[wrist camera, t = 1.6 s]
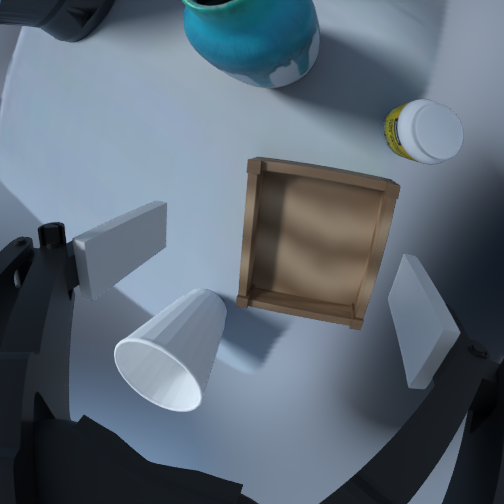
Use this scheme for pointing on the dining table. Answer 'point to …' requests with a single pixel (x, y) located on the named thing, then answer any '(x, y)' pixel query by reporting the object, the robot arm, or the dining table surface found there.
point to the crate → (313, 239)
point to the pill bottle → (423, 131)
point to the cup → (174, 351)
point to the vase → (255, 38)
